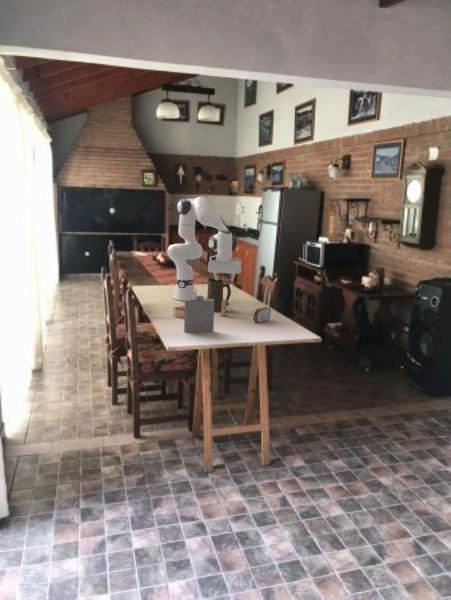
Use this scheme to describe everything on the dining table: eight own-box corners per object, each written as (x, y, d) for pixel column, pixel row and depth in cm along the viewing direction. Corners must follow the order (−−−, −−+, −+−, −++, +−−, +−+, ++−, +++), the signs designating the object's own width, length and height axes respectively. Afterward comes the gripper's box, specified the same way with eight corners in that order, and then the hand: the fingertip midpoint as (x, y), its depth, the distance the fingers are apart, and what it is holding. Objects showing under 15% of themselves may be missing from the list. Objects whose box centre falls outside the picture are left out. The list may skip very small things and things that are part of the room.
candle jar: (177, 311, 312) (178, 305, 311) (197, 313, 308) (198, 307, 308) (169, 316, 299) (169, 309, 299) (190, 318, 296) (190, 312, 295)
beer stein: (207, 312, 313) (210, 280, 309) (203, 308, 323) (206, 278, 320) (230, 313, 318) (233, 282, 314) (226, 309, 328) (229, 279, 324)
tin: (267, 319, 301) (267, 305, 300) (271, 320, 300) (272, 306, 298) (252, 323, 290) (253, 309, 288) (256, 324, 288) (257, 310, 286)
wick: (223, 315, 307) (223, 299, 305) (226, 315, 307) (226, 299, 305) (221, 316, 304) (221, 300, 302) (224, 316, 303) (224, 300, 301)
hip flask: (212, 330, 272) (213, 294, 268) (214, 332, 268) (215, 296, 264) (183, 331, 268) (184, 294, 264) (184, 333, 265) (185, 296, 260)
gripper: (242, 257, 298) (242, 280, 301) (210, 256, 304) (209, 279, 306) (240, 258, 292) (239, 282, 295) (207, 257, 298) (206, 280, 300)
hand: (224, 280), depth 300 cm, fingers open, 8 cm apart
